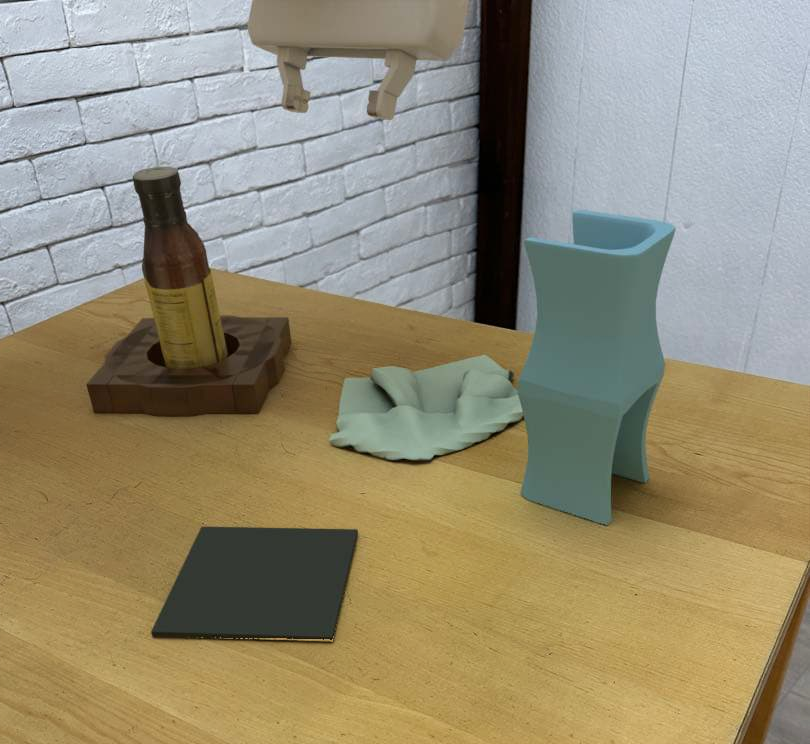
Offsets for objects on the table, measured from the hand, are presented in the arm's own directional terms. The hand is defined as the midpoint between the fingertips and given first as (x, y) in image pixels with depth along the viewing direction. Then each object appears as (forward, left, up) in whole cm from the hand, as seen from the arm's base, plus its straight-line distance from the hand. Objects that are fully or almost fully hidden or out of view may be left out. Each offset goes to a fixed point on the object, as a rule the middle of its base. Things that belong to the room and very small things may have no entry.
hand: (335, 114), depth 74 cm
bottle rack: (-17, +2, -24) cm, 29 cm away
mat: (-3, -31, -24) cm, 39 cm away
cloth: (+8, -4, -24) cm, 26 cm away
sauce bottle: (-17, +2, -24) cm, 30 cm away
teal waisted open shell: (+20, -18, -24) cm, 37 cm away
